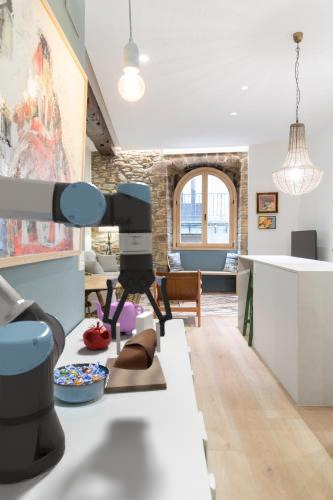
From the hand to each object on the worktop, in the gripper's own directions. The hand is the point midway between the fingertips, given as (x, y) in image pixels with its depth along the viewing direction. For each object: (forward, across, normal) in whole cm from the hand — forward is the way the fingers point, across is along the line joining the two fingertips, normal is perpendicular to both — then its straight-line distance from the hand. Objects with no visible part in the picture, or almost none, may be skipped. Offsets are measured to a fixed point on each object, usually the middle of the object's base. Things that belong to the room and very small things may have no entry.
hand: (138, 351), depth 81 cm
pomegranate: (+14, -14, +48) cm, 52 cm away
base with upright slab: (+14, +3, +44) cm, 47 cm away
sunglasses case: (+1, 0, 0) cm, 1 cm away
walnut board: (+13, -1, +21) cm, 25 cm away
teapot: (+14, -6, +67) cm, 69 cm away
